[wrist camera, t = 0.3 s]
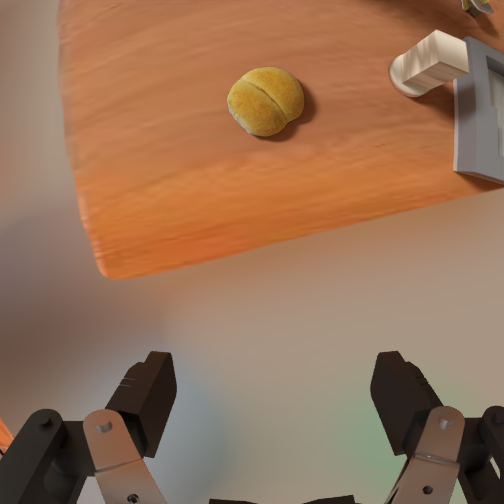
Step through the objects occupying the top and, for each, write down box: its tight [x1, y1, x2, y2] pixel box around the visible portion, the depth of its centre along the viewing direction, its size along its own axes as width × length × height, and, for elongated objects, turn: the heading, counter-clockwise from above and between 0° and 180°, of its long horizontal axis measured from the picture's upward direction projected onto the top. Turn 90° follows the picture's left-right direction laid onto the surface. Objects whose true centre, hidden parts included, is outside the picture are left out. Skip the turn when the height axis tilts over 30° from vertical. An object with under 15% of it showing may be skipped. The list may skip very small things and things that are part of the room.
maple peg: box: [389, 30, 469, 97], centre depth 27 cm, size 6×6×12 cm
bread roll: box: [227, 67, 304, 136], centre depth 33 cm, size 8×9×4 cm
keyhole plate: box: [453, 36, 504, 185], centre depth 30 cm, size 20×14×6 cm
